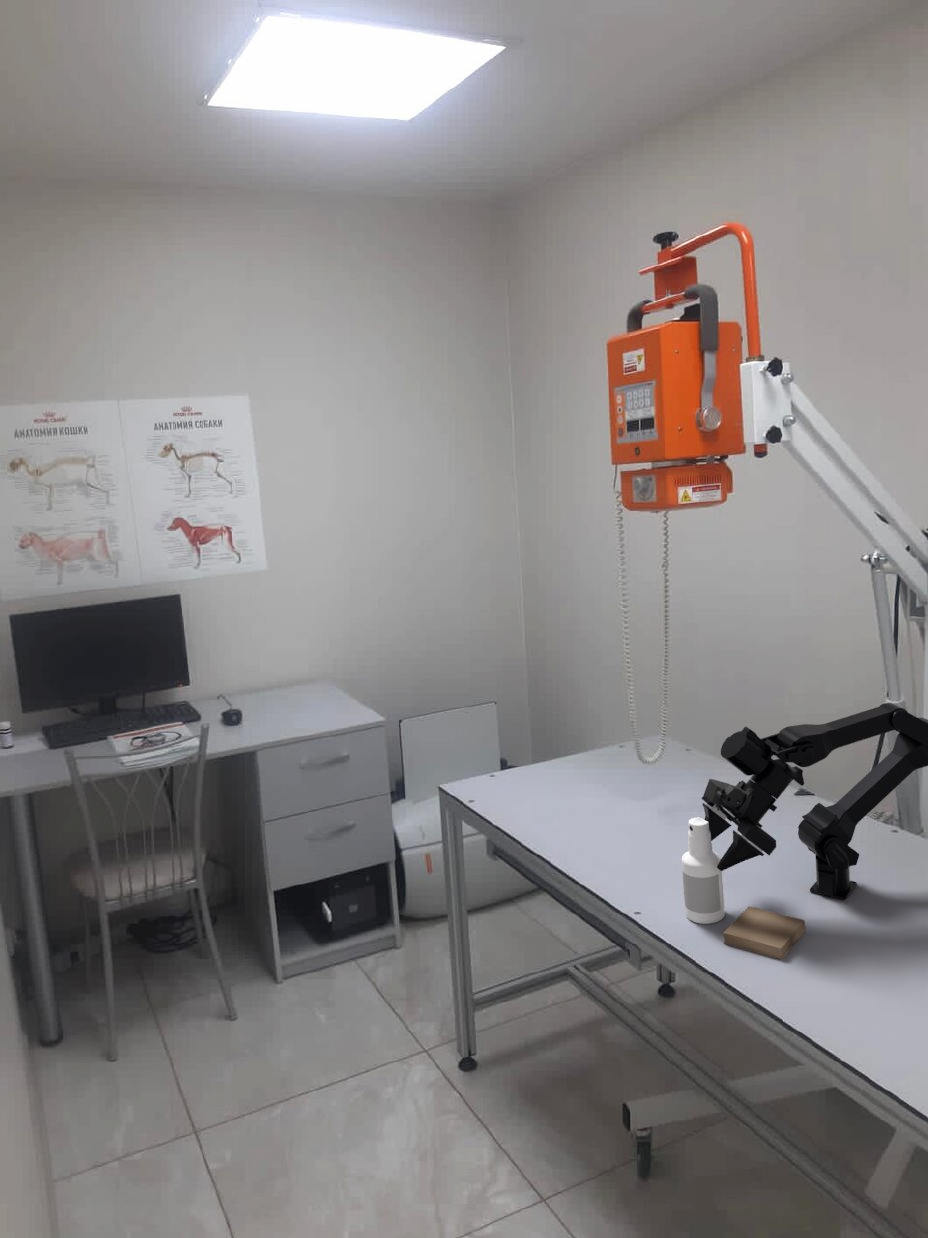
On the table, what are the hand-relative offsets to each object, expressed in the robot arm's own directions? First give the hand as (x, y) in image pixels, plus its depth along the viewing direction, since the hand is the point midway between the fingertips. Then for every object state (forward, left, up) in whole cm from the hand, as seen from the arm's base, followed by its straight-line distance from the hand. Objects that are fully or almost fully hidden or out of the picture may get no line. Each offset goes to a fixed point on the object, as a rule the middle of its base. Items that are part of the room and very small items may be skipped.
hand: (707, 858), depth 173 cm
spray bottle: (+1, -1, -11) cm, 11 cm away
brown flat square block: (+3, +11, -11) cm, 16 cm away
